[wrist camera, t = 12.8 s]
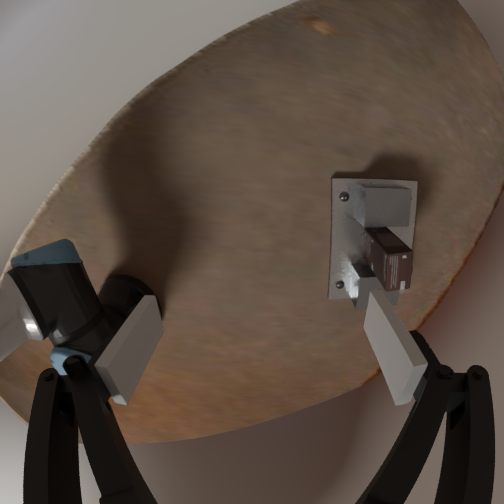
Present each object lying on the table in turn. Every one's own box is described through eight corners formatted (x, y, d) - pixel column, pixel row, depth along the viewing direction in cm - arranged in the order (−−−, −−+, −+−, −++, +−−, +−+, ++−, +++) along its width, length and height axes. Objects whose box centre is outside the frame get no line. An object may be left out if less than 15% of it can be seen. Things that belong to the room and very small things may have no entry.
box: (361, 227, 44) (387, 253, 33) (384, 224, 43) (416, 249, 32) (362, 260, 46) (385, 293, 35) (384, 256, 45) (412, 288, 34)
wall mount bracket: (327, 296, 50) (333, 314, 45) (330, 177, 42) (339, 182, 37) (401, 290, 49) (413, 306, 43) (414, 180, 41) (431, 185, 35)
